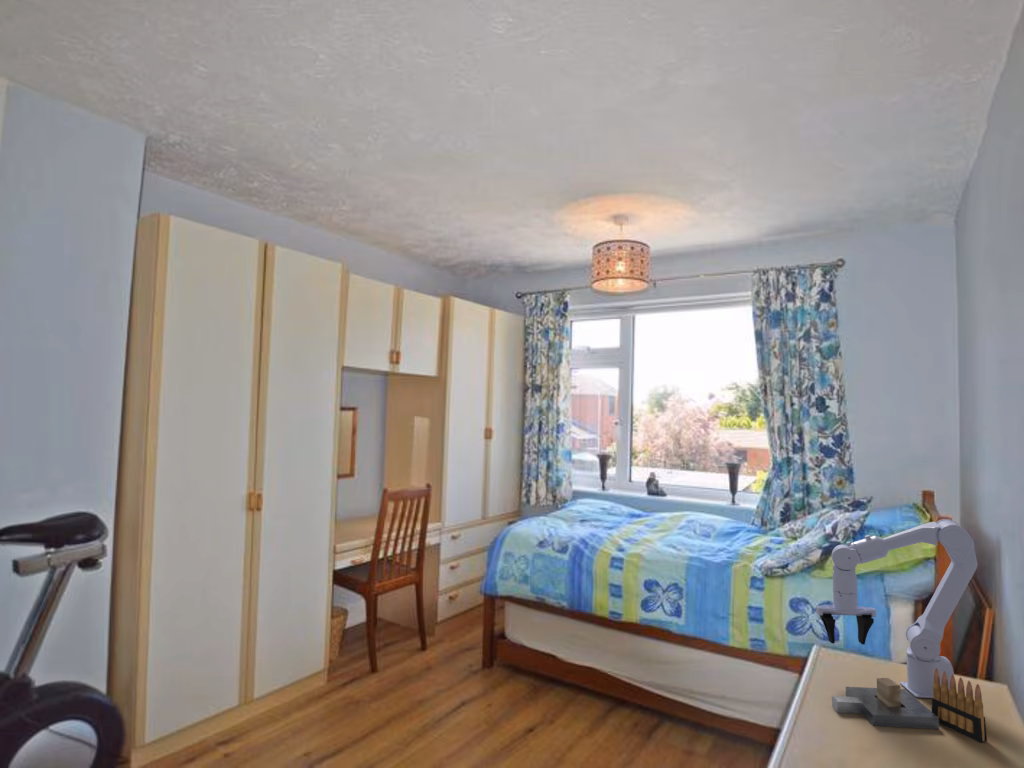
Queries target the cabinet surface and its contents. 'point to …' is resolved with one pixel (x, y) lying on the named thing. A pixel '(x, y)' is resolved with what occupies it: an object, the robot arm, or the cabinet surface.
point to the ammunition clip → (959, 707)
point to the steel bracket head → (885, 709)
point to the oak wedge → (888, 692)
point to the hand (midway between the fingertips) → (846, 642)
